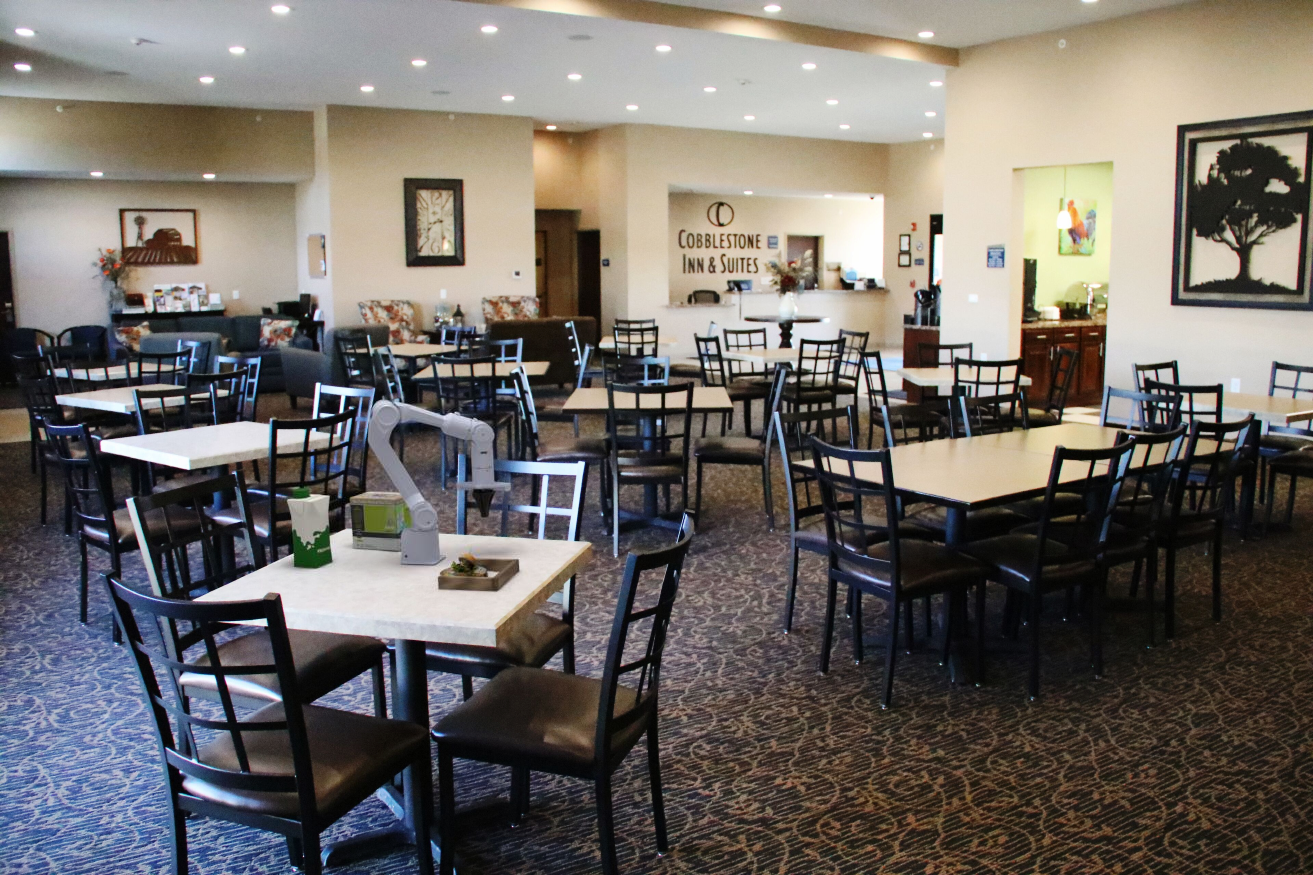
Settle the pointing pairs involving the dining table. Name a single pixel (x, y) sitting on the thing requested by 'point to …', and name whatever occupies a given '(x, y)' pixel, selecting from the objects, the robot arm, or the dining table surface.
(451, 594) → the dining table surface
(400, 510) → the tea box
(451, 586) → the open wooden frame
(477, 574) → the burger
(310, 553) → the milk carton
